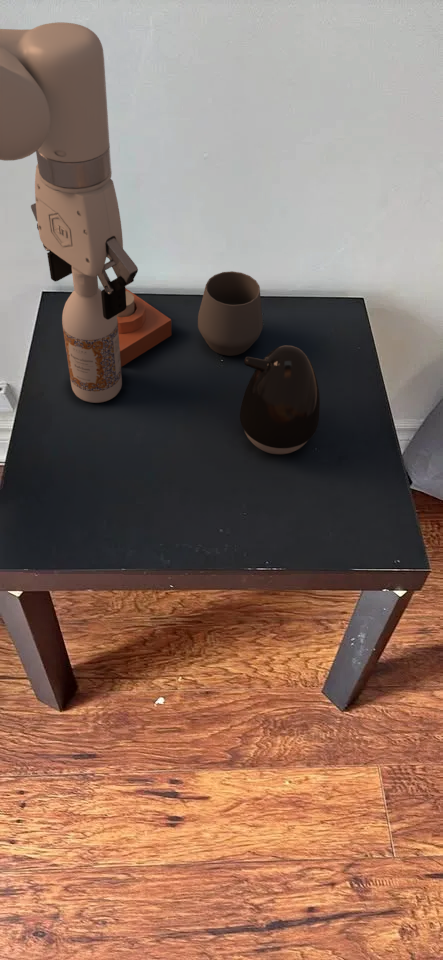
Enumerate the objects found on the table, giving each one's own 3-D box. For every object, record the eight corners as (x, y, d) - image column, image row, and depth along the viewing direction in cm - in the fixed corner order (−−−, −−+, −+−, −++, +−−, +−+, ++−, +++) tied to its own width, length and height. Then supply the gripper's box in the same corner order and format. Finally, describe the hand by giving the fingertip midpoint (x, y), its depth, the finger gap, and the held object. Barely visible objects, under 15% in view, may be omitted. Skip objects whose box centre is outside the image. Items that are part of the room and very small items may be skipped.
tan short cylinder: (121, 321, 106) (120, 310, 104) (104, 309, 107) (103, 297, 106) (139, 310, 108) (139, 298, 106) (123, 298, 109) (122, 287, 107)
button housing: (120, 367, 107) (119, 340, 103) (75, 333, 111) (72, 306, 107) (171, 335, 111) (171, 308, 108) (126, 303, 115) (124, 276, 111)
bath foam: (62, 395, 103) (43, 274, 87) (86, 363, 107) (71, 242, 91) (108, 410, 101) (97, 290, 86) (130, 377, 106) (123, 257, 90)
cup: (185, 349, 110) (186, 294, 102) (216, 314, 115) (219, 259, 107) (242, 373, 107) (247, 318, 99) (271, 336, 112) (278, 281, 105)
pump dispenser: (232, 410, 103) (240, 324, 91) (306, 407, 104) (324, 322, 92) (240, 468, 96) (250, 383, 84) (320, 464, 97) (340, 380, 86)
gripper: (-6, 140, 80) (19, 274, 93) (101, 209, 73) (112, 343, 86) (50, 118, 83) (67, 250, 97) (158, 182, 76) (159, 315, 90)
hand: (88, 294), depth 91 cm, fingers open, 9 cm apart
